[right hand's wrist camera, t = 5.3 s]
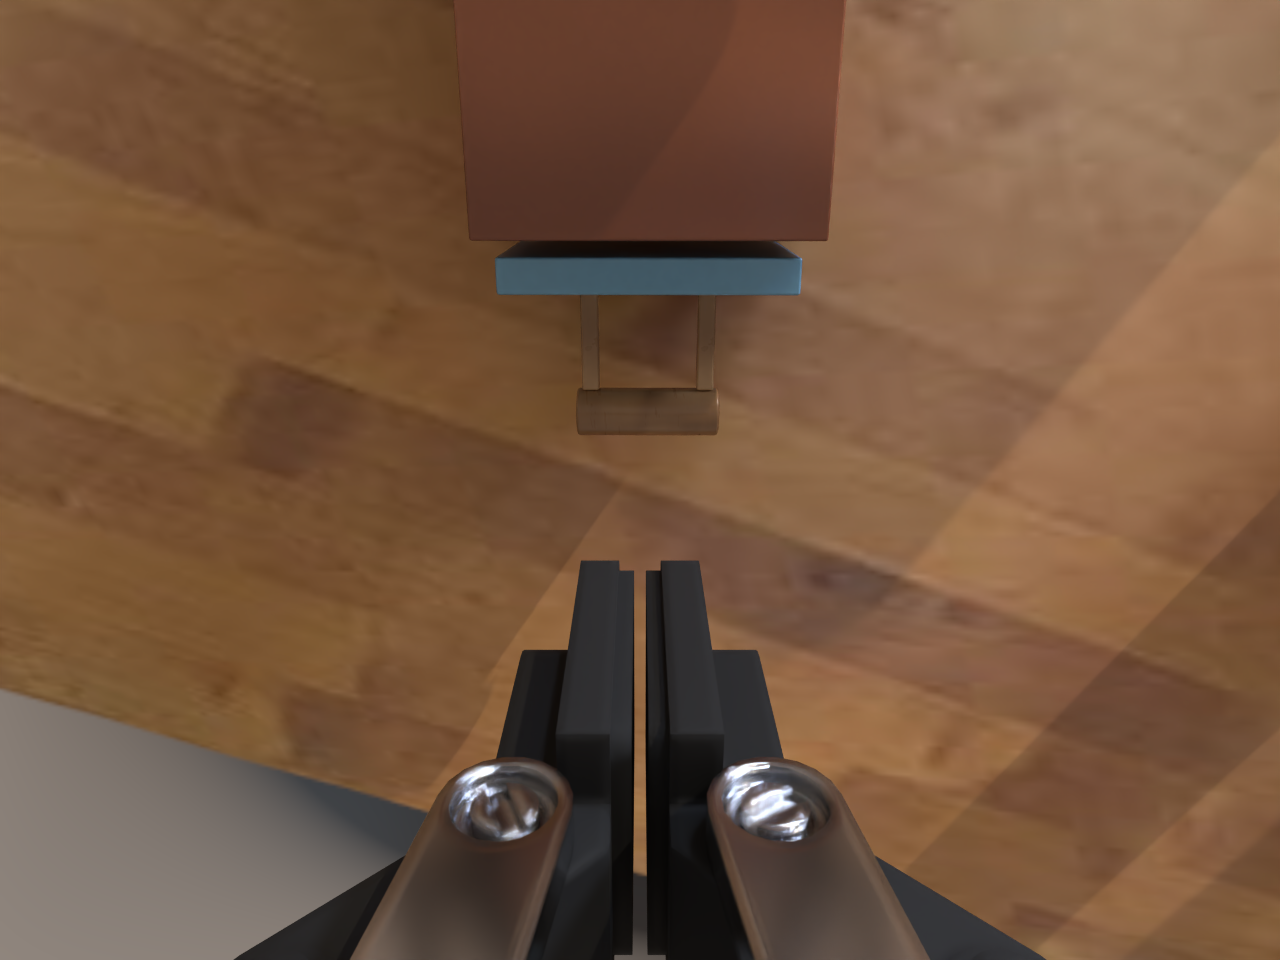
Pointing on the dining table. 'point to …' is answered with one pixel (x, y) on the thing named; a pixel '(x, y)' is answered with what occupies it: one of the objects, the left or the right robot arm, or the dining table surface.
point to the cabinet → (649, 118)
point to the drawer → (648, 274)
